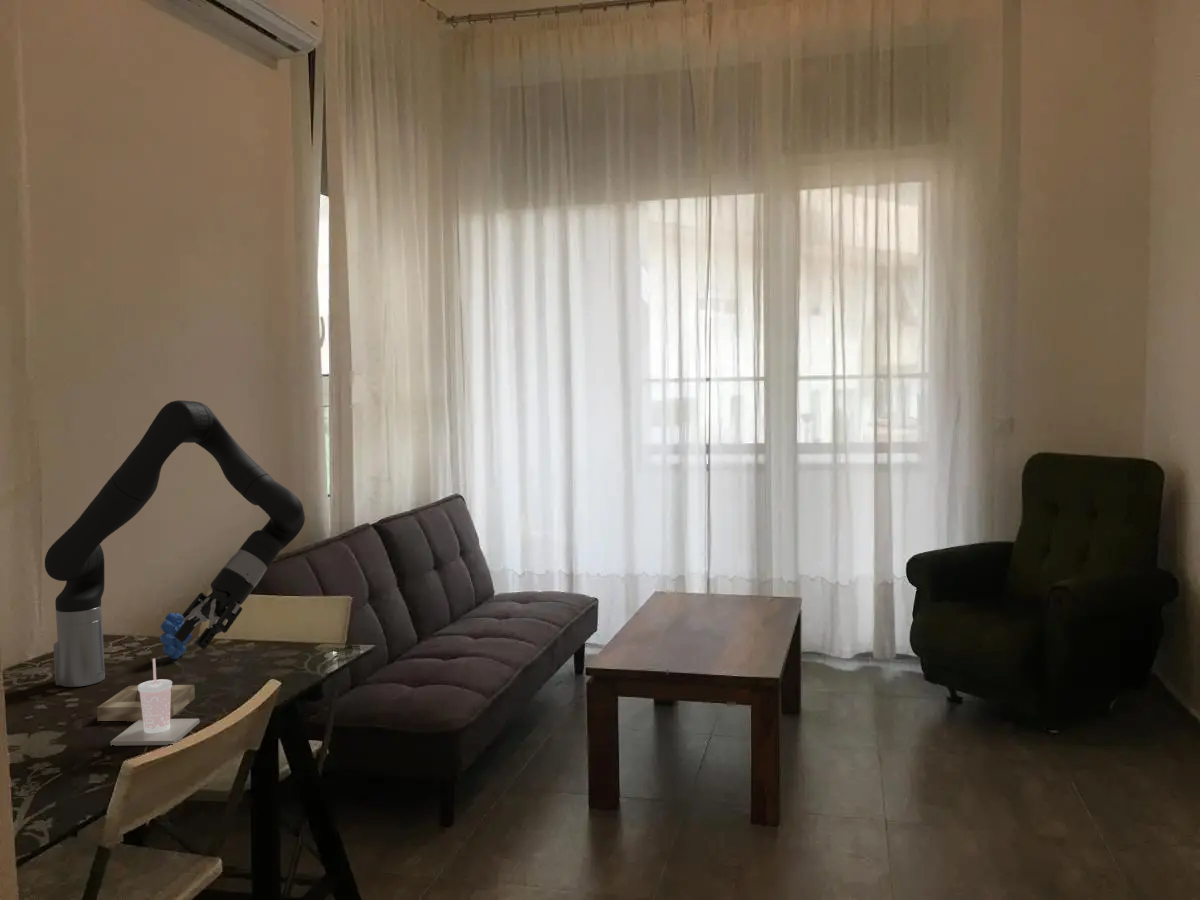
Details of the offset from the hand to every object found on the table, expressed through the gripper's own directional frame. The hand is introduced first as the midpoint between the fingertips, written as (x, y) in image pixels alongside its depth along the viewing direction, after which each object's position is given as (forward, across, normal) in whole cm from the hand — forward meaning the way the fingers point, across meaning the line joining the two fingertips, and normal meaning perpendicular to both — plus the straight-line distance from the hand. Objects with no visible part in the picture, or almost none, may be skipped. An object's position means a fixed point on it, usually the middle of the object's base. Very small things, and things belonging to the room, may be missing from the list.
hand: (188, 643), depth 197 cm
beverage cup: (+16, 0, +6) cm, 17 cm away
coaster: (+17, 0, +6) cm, 18 cm away
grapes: (-3, -46, +26) cm, 53 cm away
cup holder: (+13, -15, +10) cm, 22 cm away
